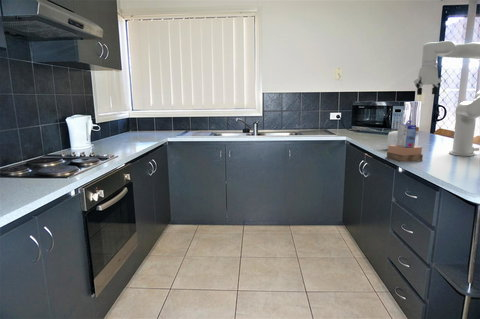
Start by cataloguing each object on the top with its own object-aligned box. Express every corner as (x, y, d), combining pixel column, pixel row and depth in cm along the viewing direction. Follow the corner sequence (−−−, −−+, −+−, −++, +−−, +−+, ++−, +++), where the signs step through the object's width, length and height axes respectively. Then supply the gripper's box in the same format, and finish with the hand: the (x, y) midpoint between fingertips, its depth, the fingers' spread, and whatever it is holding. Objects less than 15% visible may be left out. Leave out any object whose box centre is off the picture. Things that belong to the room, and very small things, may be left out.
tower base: (407, 157, 185) (407, 150, 184) (422, 161, 172) (422, 154, 171) (386, 158, 184) (387, 151, 183) (400, 162, 171) (400, 155, 170)
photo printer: (401, 148, 211) (403, 130, 209) (404, 149, 207) (405, 131, 205) (385, 148, 212) (387, 130, 210) (388, 150, 208) (389, 131, 206)
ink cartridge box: (415, 147, 171) (417, 121, 168) (405, 147, 171) (407, 121, 168) (405, 144, 181) (407, 119, 178) (395, 145, 181) (397, 120, 178)
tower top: (405, 150, 184) (406, 144, 183) (421, 154, 172) (421, 147, 172) (387, 152, 181) (388, 145, 181) (402, 155, 170) (403, 148, 169)
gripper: (437, 65, 187) (435, 94, 191) (411, 65, 185) (409, 95, 189) (447, 63, 180) (444, 93, 183) (419, 64, 178) (417, 94, 181)
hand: (426, 94), depth 186 cm, fingers open, 9 cm apart
